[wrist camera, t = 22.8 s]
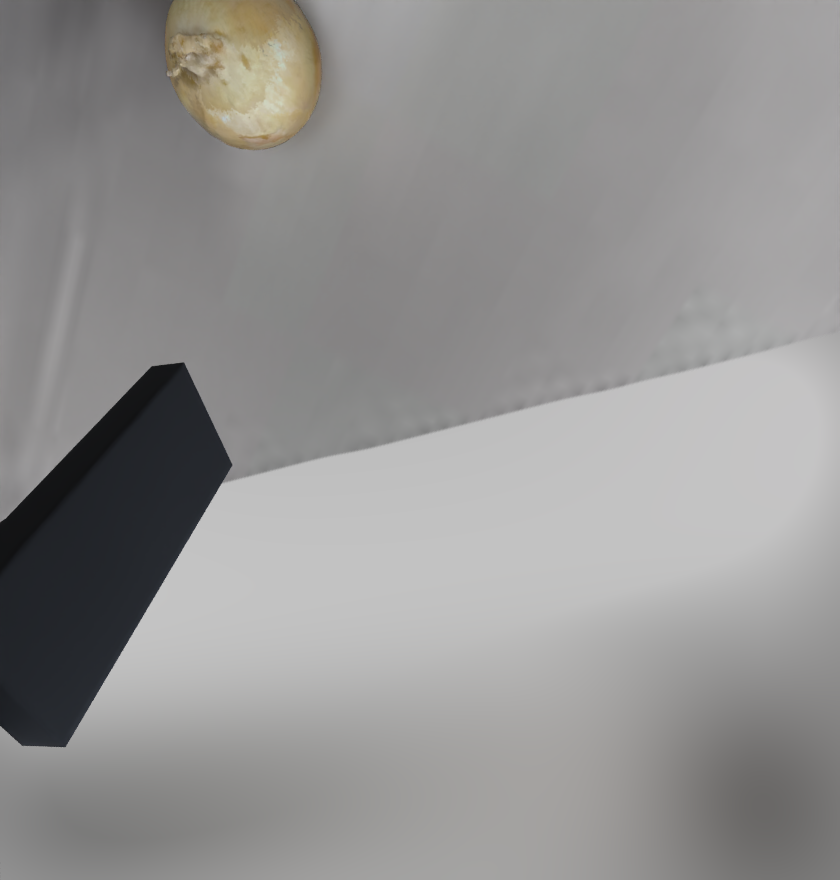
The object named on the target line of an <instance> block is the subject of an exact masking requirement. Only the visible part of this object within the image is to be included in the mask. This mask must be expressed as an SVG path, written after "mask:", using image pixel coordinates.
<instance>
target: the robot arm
mask: <svg viewBox="0 0 840 880" xmlns="http://www.w3.org/2000/svg"><path fill="white" fill-rule="evenodd" d="M231 467H232V463H231V461H230V459H229V457H228V455H227V453H226V450H225V448H224V446H223V444H222V442H221V440H220V438H219V436H218V434H217V431H216V429H215V427H214V425H213V423H212V421H211V419H210V417H209V414H208V412H207V410H206V408H205V406H204V404H203V402H202V400H201V398H200V395H199V393H198V391H197V389H196V387H195V385H194V383H193V381H192V379H191V376H190V374H189V372H188V370H187V368H186V366H185V364H184V363H176V364H167V365H159V366H152V367H151V368H150V369H149V370H148V371H147V372H146V373H145V374H144V375H143V376H142V377H141V378H140V379H139V380H138V381H137V382H136V383H135V384H134V385H133V386H132V387H131V389H130V390H129V391H128V392H127V393H126V394H125V395H124V396H123V397H122V398H121V399H120V400H119V401H118V402H117V403H116V404H115V405H114V406H113V407H112V408H111V409H110V410H109V411H108V413H107V414H106V415H105V416H104V417H103V418H102V419H101V420H100V421H99V422H98V423H97V424H96V425H95V426H94V427H93V428H92V429H91V430H90V431H89V432H88V433H87V434H86V435H85V437H84V438H83V439H82V440H81V441H80V442H79V443H78V444H77V445H76V446H75V447H74V448H73V449H72V450H71V451H70V452H69V453H68V454H67V455H66V456H65V457H64V458H63V459H62V461H61V462H60V463H59V464H58V465H57V466H56V467H55V468H54V469H53V470H52V471H51V472H50V473H49V474H48V475H47V476H46V477H45V478H44V479H43V480H42V481H41V482H40V483H39V485H38V486H37V487H36V488H35V489H34V490H33V491H32V492H31V493H30V494H29V495H28V496H27V497H26V498H25V499H24V500H23V501H22V502H21V503H20V504H19V505H18V506H17V508H16V509H15V510H14V511H13V512H12V513H11V514H10V515H9V516H8V517H7V518H6V519H4V520H3V521H2V522H0V726H1V727H2V728H3V729H4V730H6V731H7V732H8V733H9V734H10V735H11V736H12V737H13V738H14V739H15V740H17V741H18V742H19V743H20V744H21V745H22V746H48V747H66V745H67V744H68V742H69V740H70V738H71V737H72V735H73V733H74V732H75V730H76V728H77V727H78V725H79V723H80V722H81V720H82V718H83V716H84V715H85V713H86V711H87V710H88V708H89V706H90V705H91V703H92V701H93V700H94V698H95V696H96V695H97V693H98V691H99V689H100V688H101V686H102V684H103V683H104V681H105V679H106V678H107V676H108V674H109V672H110V671H111V669H112V668H113V666H114V664H115V662H116V661H117V659H118V657H119V656H120V654H121V652H122V651H123V649H124V647H125V646H126V644H127V642H128V641H129V638H130V637H131V635H132V634H133V632H134V630H135V628H136V627H137V625H138V624H139V622H140V620H141V619H142V617H143V615H144V613H145V612H146V610H147V608H148V607H149V605H150V603H151V602H152V600H153V598H154V597H155V595H156V593H157V591H158V590H159V588H160V586H161V585H162V583H163V581H164V580H165V578H166V576H167V575H168V573H169V571H170V570H171V568H172V566H173V564H174V563H175V561H176V559H177V558H178V556H179V554H180V553H181V551H182V549H183V548H184V546H185V544H186V542H187V541H188V539H189V538H190V536H191V534H192V532H193V531H194V529H195V527H196V526H197V524H198V522H199V521H200V519H201V517H202V515H203V514H204V512H205V510H206V509H207V507H208V505H209V504H210V502H211V500H212V499H213V497H214V495H215V494H216V492H217V490H218V488H219V487H220V485H221V483H222V482H223V480H224V478H225V477H226V475H227V473H228V472H229V470H230V468H231Z"/></svg>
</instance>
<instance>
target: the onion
mask: <svg viewBox="0 0 840 880" xmlns="http://www.w3.org/2000/svg"><path fill="white" fill-rule="evenodd" d="M165 54H166V62H167V68H168V71H166V74H167V76H168V77H170V79H171V82H172V85H173V87H174V89H175V91H176V93H177V95H178V97H179V99H180V101H181V103H182V104H183V105H184V107H185V108H186V109H187V111H188V112H189V113H190V115H191V116H192V117H193V118H194V119H195V120H196V121H197V122H198V123H199V124H200V125H201V126H202V127H203V128H204V129H205V130H206V131H207V132H208V133H209V134H210V135H212V136H214V137H215V138H217V139H219V140H220V141H222V142H224V143H226V144H227V145H230V146H233V147H236V148H240V149H248V150H261V149H267V148H271V147H275V146H277V145H280V144H282V143H284V142H285V141H287V140H289V139H290V138H291V137H293V136H294V135H295V134H296V133H298V132H299V131H300V129H301V128H302V127H303V126H304V125H305V124H306V122H307V121H308V119H309V118H310V116H311V114H312V112H313V111H314V108H315V106H316V104H317V100H318V97H319V93H320V87H321V73H322V71H321V69H322V68H321V54H320V50H319V46H318V43H317V39H316V37H315V34H314V32H313V30H312V28H311V26H310V24H309V22H308V20H307V19H306V17H305V16H304V14H303V12H302V10H301V9H300V7H299V6H298V5H297V4H296V3H295V2H294V0H174V1H173V2H172V4H171V7H170V9H169V13H168V16H167V20H166V30H165Z"/></svg>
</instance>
